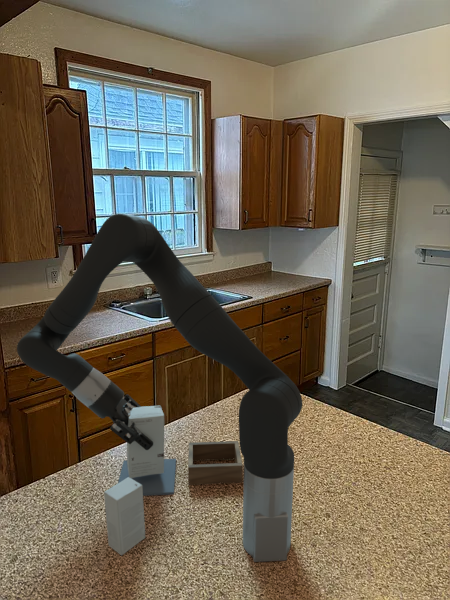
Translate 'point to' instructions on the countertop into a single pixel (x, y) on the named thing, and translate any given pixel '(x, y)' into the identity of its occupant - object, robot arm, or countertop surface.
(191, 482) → the holder collar
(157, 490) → the slate mat
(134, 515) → the skincare box
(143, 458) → the skincare box
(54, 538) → the countertop surface
